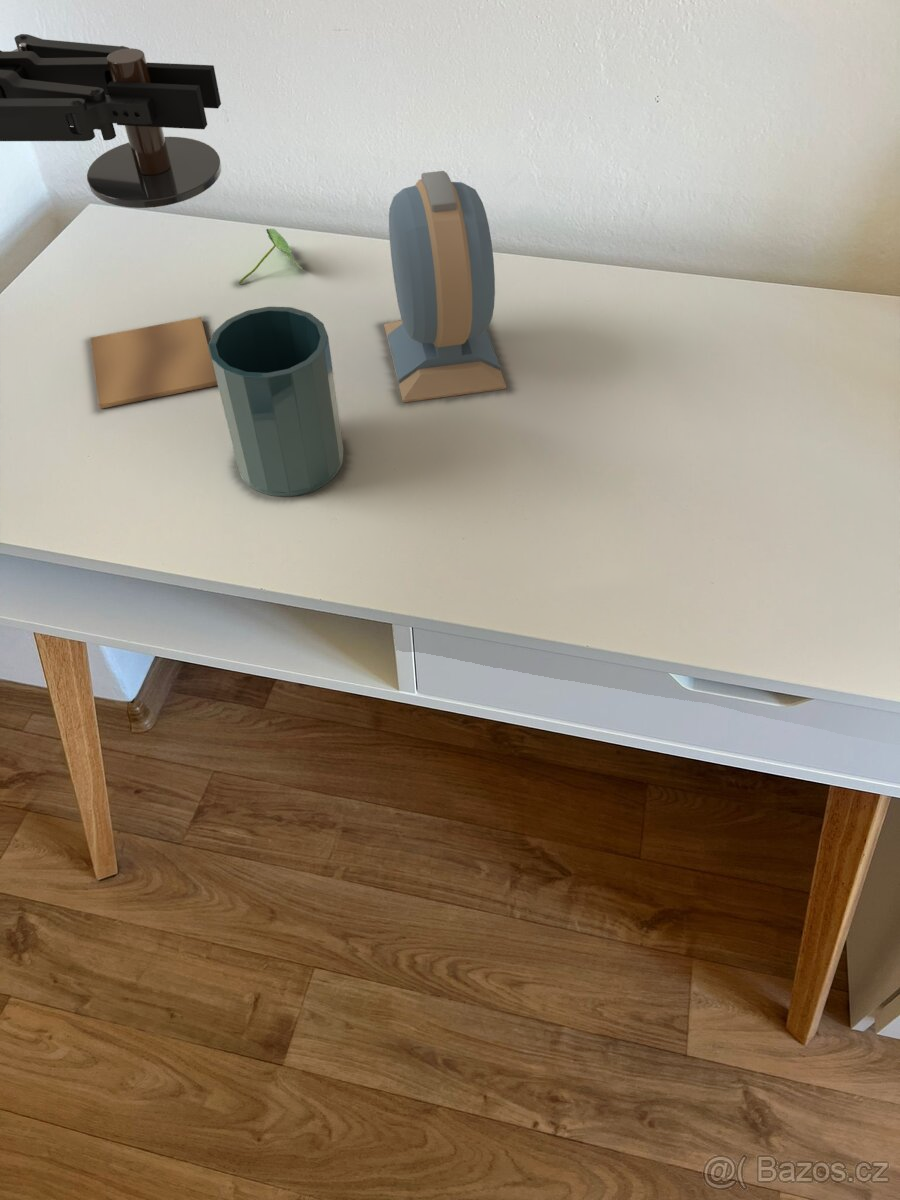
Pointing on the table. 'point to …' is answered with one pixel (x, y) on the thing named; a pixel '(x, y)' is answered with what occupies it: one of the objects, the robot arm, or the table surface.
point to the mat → (152, 362)
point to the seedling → (277, 242)
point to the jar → (279, 399)
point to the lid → (150, 156)
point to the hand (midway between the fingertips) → (208, 97)
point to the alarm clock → (442, 291)
